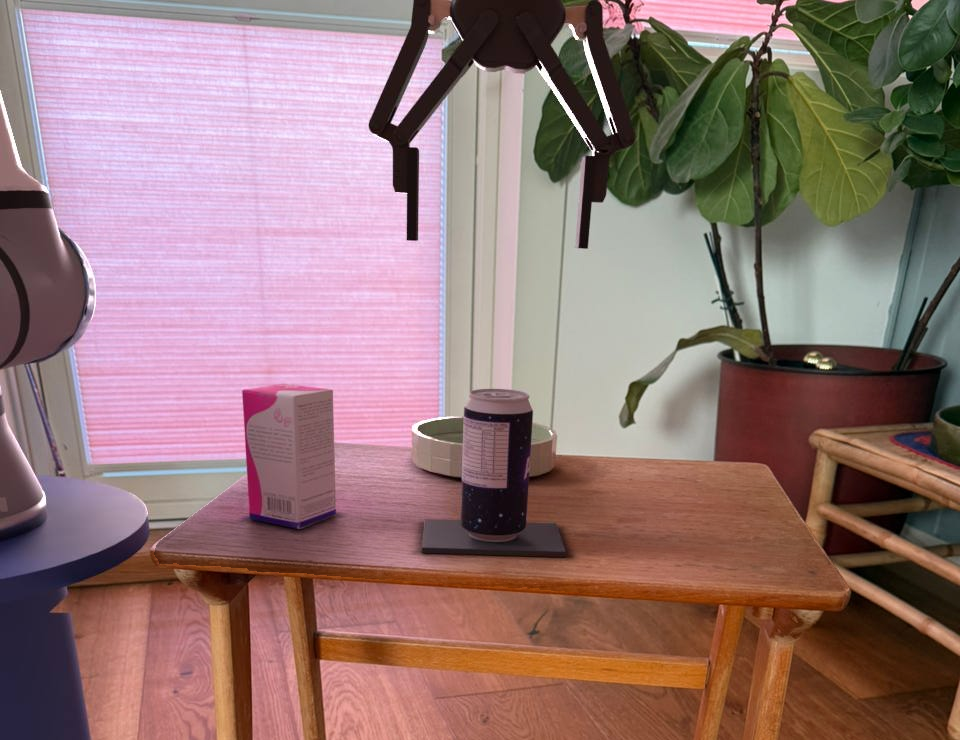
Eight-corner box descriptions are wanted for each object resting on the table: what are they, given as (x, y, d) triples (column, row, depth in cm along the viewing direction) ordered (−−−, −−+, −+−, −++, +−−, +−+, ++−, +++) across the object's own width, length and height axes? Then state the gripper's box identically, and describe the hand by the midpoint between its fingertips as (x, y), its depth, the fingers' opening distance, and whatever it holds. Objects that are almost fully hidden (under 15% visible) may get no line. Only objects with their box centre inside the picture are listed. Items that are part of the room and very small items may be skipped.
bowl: (408, 481, 96) (409, 443, 94) (414, 447, 111) (415, 414, 109) (561, 486, 97) (564, 449, 95) (546, 451, 111) (549, 418, 110)
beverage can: (532, 543, 77) (542, 399, 72) (467, 546, 76) (472, 399, 71) (516, 523, 82) (523, 387, 77) (454, 525, 81) (458, 387, 76)
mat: (421, 553, 75) (421, 547, 75) (424, 524, 83) (424, 519, 82) (565, 557, 76) (566, 551, 76) (555, 528, 83) (556, 523, 83)
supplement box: (338, 514, 84) (335, 388, 79) (298, 530, 79) (292, 396, 75) (288, 504, 87) (282, 380, 82) (247, 519, 82) (238, 389, 77)
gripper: (676, -59, 68) (643, 250, 77) (342, -77, 67) (347, 236, 76) (699, -91, 61) (659, 252, 70) (327, -111, 60) (334, 237, 69)
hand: (497, 245), depth 73 cm, fingers open, 13 cm apart
